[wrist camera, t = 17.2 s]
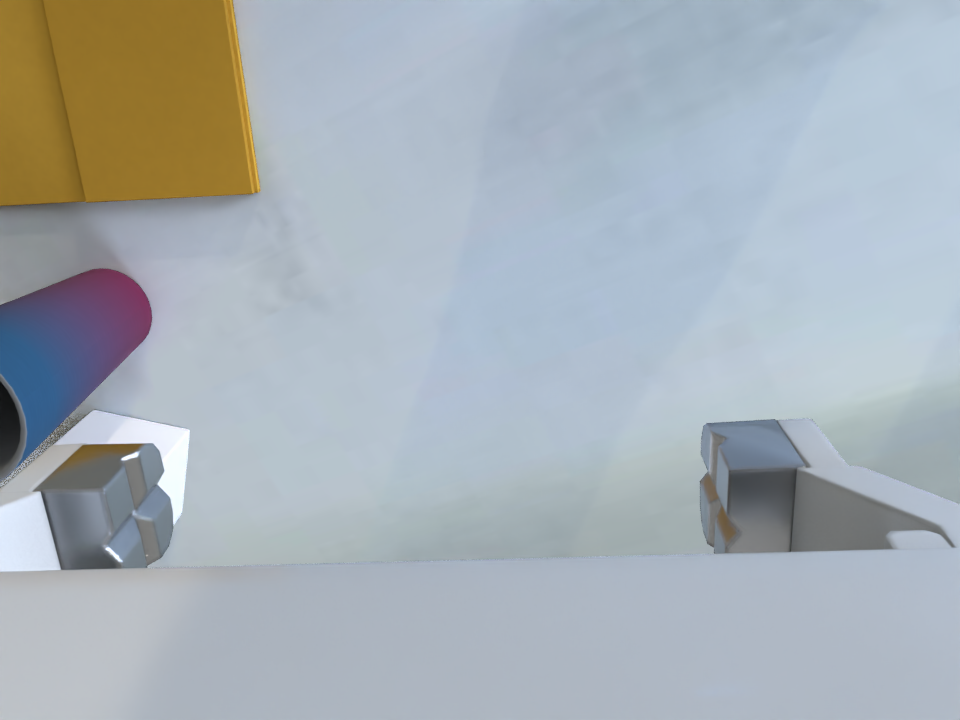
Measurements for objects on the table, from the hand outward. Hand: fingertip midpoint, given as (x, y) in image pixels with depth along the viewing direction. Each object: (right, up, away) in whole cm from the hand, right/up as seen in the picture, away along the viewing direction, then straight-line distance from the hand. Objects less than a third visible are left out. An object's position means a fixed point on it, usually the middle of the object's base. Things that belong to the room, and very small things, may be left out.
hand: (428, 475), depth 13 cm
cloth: (-21, +17, +32) cm, 42 cm away
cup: (-20, +5, +37) cm, 43 cm away
